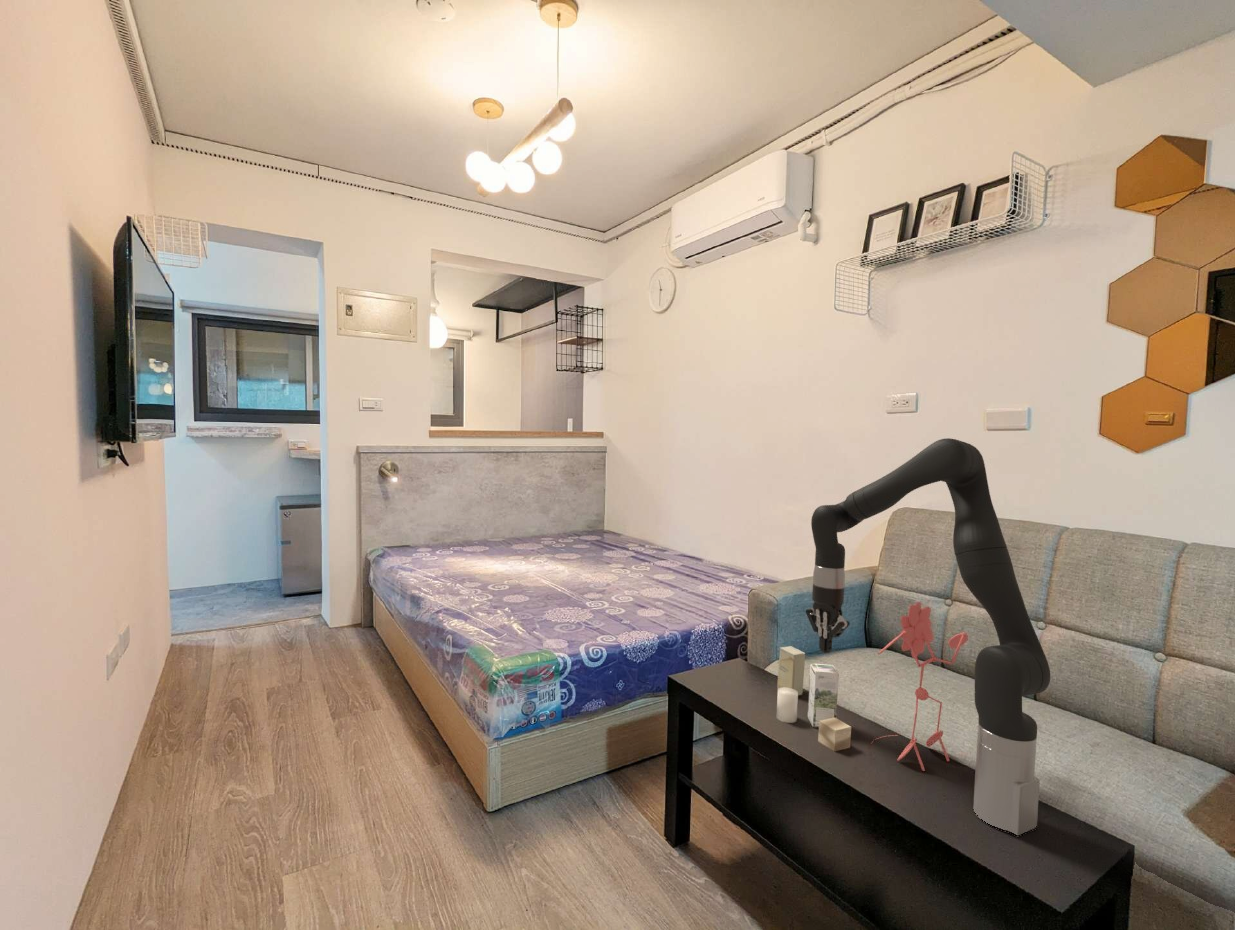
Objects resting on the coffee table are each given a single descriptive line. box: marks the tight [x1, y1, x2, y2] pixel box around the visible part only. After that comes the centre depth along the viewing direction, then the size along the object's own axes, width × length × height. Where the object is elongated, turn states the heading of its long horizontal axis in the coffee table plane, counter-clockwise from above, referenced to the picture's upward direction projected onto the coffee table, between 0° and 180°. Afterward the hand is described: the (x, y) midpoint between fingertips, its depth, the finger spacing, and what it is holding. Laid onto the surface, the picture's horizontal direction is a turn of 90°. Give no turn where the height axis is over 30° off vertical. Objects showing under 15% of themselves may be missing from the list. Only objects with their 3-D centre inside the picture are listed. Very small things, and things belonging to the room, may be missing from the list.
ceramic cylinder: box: [776, 687, 799, 724], centre depth 148 cm, size 5×5×7 cm
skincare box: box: [776, 645, 806, 696], centre depth 165 cm, size 6×4×12 cm
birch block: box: [817, 717, 852, 752], centre depth 136 cm, size 5×5×5 cm
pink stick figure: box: [869, 601, 969, 772], centre depth 134 cm, size 15×26×35 cm, turn 119°
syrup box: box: [806, 662, 840, 729], centre depth 146 cm, size 6×6×14 cm
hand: (825, 651), depth 146 cm, fingers closed
